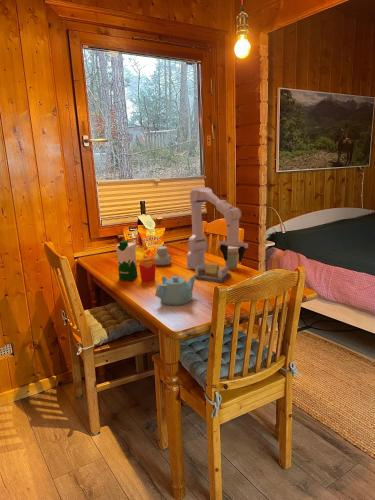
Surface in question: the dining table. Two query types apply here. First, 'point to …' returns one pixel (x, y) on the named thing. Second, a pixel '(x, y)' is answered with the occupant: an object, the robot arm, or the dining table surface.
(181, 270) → the dining table surface
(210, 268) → the brass block
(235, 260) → the coffee cup
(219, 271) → the free jaw
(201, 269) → the vise base
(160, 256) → the air freshener
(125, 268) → the milk carton
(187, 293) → the teapot
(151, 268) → the french fries
